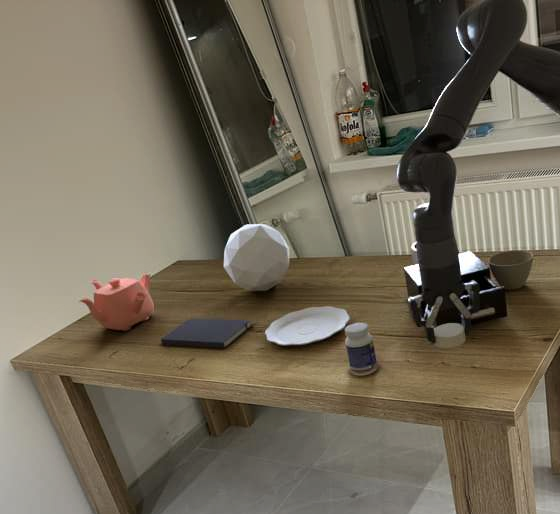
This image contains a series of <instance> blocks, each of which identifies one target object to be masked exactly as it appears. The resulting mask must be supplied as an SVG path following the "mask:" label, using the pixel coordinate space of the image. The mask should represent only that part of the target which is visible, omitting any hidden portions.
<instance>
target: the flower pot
mask: <svg viewBox="0 0 560 514" xmlns="http://www.w3.org/2000/svg"><path fill="white" fill-rule="evenodd" d="M533 261H534V254H533V253H532V252H530V251H527V250H522V249H518V250H517V249H512V250H506V251H502V252H501V251H500V252H498V253H495V254H493V255H492V256H490V257H488V260H487V262H488V267H489V268H490V273H491V274H492V276H493V278H494V280H495V281H496V283H497V284H498V285H499V287H502V286H503V287H505V290H506V291H507V290H508V291H513V290H518V289H520V288H523V286H525V284H526V281H527V280H528V279H529V277H530V274H531V270H532V266H533Z"/></svg>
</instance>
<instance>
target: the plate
mask: <svg viewBox="0 0 560 514" xmlns="http://www.w3.org/2000/svg"><path fill="white" fill-rule="evenodd" d="M350 318H351V316H350V315H349V314H348V313H347V310H346V309H343V308H339V307H335V306H330V305H326V306H312V307H306V308H303V309H299V310H296V311H292V312H289V313H287V314H285V315H283V316H281V317H280V318H278V319H275V320H274V321H273V322H271V323H270V325H269V326H268V327H267V328H266V329H265V331H264V335H266V340H267V341H268V342H269V343H274V344H276V345H278V346H303V345H310V344H313V343H314V344H315V343H317V342H321V341H324V340H326V339H328V338H330V337H332V336H334V335H335V334H336V333H338V332H340V331H343V330H344V329H345V328H346V327H347V326H346V325H347V323H348V322H349V321H350Z"/></svg>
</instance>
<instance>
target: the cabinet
mask: <svg viewBox="0 0 560 514" xmlns="http://www.w3.org/2000/svg"><path fill="white" fill-rule="evenodd" d="M459 262H460V270H461V278H464V277H468V276H473V275H477V274H481V273H484V274H485V275H486V276H487V277H488V278H490V279H491V280H492V275H491V274H492V273H491V269H490V266H489V265H487V264H486V263H485V262H483V261H482V259H480V258H479V257H478V256H476V254H474V253H473V252H472V251H465V252H461V253H459ZM403 272H404V278H405V285H406V291H407V298H408V297H409V296H412V297H415V296H418V295H420V294H421V291H422V284H421V278H420V271H419V265H418V264H416V265H409V266H408V265H407V266H405V267H403ZM418 310H419V314H420V317H421V318H424V315H425V303H424V301H423V300H422V301H421V303H420V307H418Z"/></svg>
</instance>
